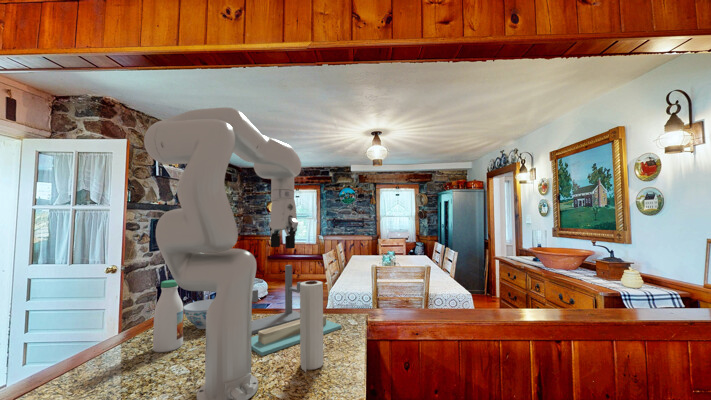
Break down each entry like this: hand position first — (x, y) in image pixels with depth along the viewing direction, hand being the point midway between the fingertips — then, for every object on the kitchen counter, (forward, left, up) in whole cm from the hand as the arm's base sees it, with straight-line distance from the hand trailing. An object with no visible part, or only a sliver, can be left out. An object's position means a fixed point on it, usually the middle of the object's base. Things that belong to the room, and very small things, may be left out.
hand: (282, 247), depth 100 cm
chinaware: (+31, +13, -29) cm, 45 cm away
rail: (-1, -4, -28) cm, 28 cm away
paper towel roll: (-22, +5, -29) cm, 37 cm away
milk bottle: (+19, +28, -29) cm, 45 cm away
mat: (-1, -4, -29) cm, 29 cm away
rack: (+15, -5, -29) cm, 33 cm away
